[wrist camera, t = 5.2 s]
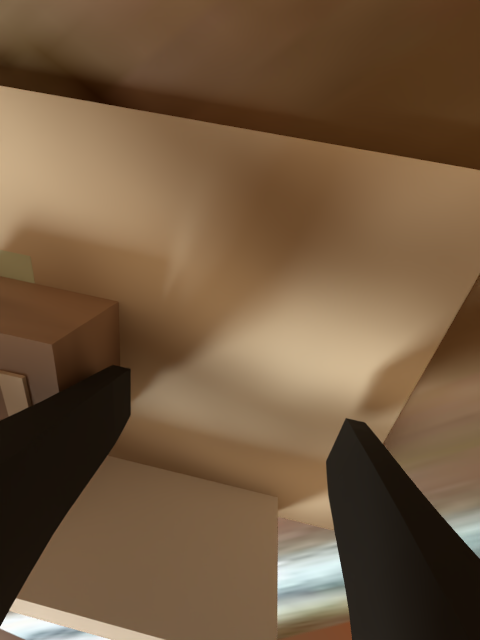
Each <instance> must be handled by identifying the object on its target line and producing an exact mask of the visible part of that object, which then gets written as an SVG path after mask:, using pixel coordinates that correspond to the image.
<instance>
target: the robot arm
mask: <svg viewBox="0 0 480 640" xmlns="http://www.w3.org/2000/svg"><path fill="white" fill-rule="evenodd" d="M130 416H131V369H129V368H125V367H120V366H116V365H112V366H109V367H107V368H105V369H103V370H101V371H99V372H97V373H95V374H94V375H92V376H90V377H88V378H86V379H84V380H82V381H80V382H78V383H76V384H74V385H72V386H70V387H69V388H67V389H65V390H63V391H61V392H59V393H57V394H55V395H53V396H51V397H49V398H47V399H45V400H43V401H41V402H39V403H37V404H35V405H32V406H30V407H28V408H26V409H24V410H22V411H20V412H17V413H15V414H13V415H11V416H9V417H7V418H5V419H2V420H0V626H1V624H2V622H3V620H4V619H5V617H6V615H7V613H8V612H9V610H10V608H11V606H12V604H13V603H14V601H15V599H16V597H17V596H18V594H19V592H20V590H21V589H22V587H23V585H24V583H25V582H26V580H27V578H28V576H29V575H30V573H31V571H32V570H33V568H34V566H35V564H36V563H37V561H38V559H39V558H40V556H41V554H42V553H43V551H44V549H45V548H46V546H47V544H48V542H49V541H50V539H51V537H52V536H53V534H54V532H55V531H56V529H57V528H58V526H59V525H60V523H61V522H62V520H63V519H64V517H65V516H66V514H67V513H68V511H69V510H70V508H71V507H72V506H73V504H74V503H75V501H76V500H77V498H78V497H79V496H80V494H81V493H82V491H83V490H84V488H85V487H86V486H87V484H88V483H89V481H90V480H91V478H92V477H93V476H94V474H95V473H96V471H97V470H98V468H99V467H100V466H101V464H102V463H103V461H104V460H105V458H106V457H107V455H108V454H109V453H110V451H111V450H112V448H113V447H114V445H115V444H116V442H117V440H118V438H119V436H120V435H121V433H122V431H123V429H124V427H125V425H126V423H127V421H128V420H129V418H130ZM326 472H327V486H328V497H329V503H330V508H331V514H332V519H333V525H334V530H335V536H336V541H337V546H338V551H339V557H340V562H341V567H342V573H343V578H344V583H345V589H346V595H347V602H348V608H349V615H350V624H351V633H352V640H480V559H479V558H478V556H477V555H476V554H475V553H474V552H473V551H472V550H471V549H470V548H469V547H468V546H467V544H466V543H465V542H464V541H463V540H462V539H461V538H460V537H459V535H458V534H457V533H456V532H455V531H454V530H453V529H452V527H451V526H450V525H449V524H448V523H447V522H446V521H445V519H444V518H443V517H442V516H441V515H440V514H439V513H438V511H437V510H436V509H435V508H434V507H433V506H432V504H431V503H430V502H429V501H428V500H427V498H426V497H425V496H424V495H423V494H422V492H421V491H420V490H419V489H418V488H417V486H416V485H415V484H414V483H413V481H412V480H411V479H410V478H409V476H408V475H407V474H406V473H405V471H404V470H403V469H402V468H401V466H400V465H399V464H398V463H397V461H396V460H395V459H394V458H393V456H392V455H391V454H390V453H389V451H388V450H387V449H386V447H385V446H384V445H383V444H382V442H381V441H380V440H379V439H378V437H377V436H376V435H375V434H374V432H373V431H372V430H371V429H370V427H369V426H368V425H367V424H366V423H365V422H361V421H357V420H353V419H348V418H346V419H345V421H344V423H343V425H342V427H341V430H340V432H339V434H338V436H337V438H336V440H335V443H334V445H333V447H332V449H331V451H330V453H329V456H328V458H327V460H326Z"/></svg>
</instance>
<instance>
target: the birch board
mask: <svg viewBox="0 0 480 640" xmlns="http://www.w3.org/2000/svg"><path fill="white" fill-rule="evenodd" d="M479 274H480V170H476V169H470V168H464V167H459V166H453V165H447V164H442V163H436V162H430V161H425V160H419V159H413V158H408V157H402V156H396V155H391V154H385V153H379V152H374V151H368V150H362V149H357V148H351V147H345V146H340V145H334V144H328V143H323V142H317V141H311V140H306V139H300V138H294V137H288V136H283V135H277V134H271V133H266V132H260V131H254V130H249V129H243V128H237V127H232V126H226V125H220V124H215V123H209V122H203V121H198V120H192V119H186V118H181V117H175V116H169V115H164V114H158V113H152V112H147V111H141V110H135V109H130V108H124V107H118V106H113V105H107V104H101V103H96V102H90V101H84V100H78V99H73V98H67V97H61V96H56V95H50V94H44V93H39V92H33V91H27V90H22V89H16V88H10V87H5V86H0V276H2V277H6V278H11V279H16V280H20V281H25V282H30V283H34V284H39V285H44V286H48V287H53V288H58V289H62V290H67V291H72V292H76V293H81V294H86V295H90V296H95V297H100V298H104V299H109V300H114V301H118V302H119V335H120V367H125V368H129V369H131V416H130V418H129V420H128V421H127V423H126V425H125V427H124V429H123V431H122V433H121V435H120V436H119V438H118V440H117V442H116V444H115V445H114V447H113V448H112V450H111V451H110V453H109V454H108V455H107V456H111V457H115V458H119V459H123V460H128V461H132V462H136V463H140V464H144V465H148V466H152V467H156V468H160V469H164V470H168V471H172V472H176V473H181V474H185V475H189V476H193V477H197V478H201V479H205V480H209V481H213V482H217V483H221V484H225V485H230V486H234V487H238V488H242V489H246V490H250V491H254V492H258V493H262V494H266V495H270V496H274V497H278V517H281V518H285V519H289V520H293V521H297V522H301V523H305V524H310V525H314V526H318V527H322V528H326V529H330V530H334V525H333V519H332V514H331V508H330V503H329V497H328V486H327V472H326V460H327V458H328V456H329V453H330V451H331V449H332V447H333V445H334V443H335V440H336V438H337V436H338V434H339V432H340V430H341V427H342V425H343V423H344V421H345V419H346V418H348V419H353V420H357V421H361V422H365V423H366V424H367V425H368V426H369V427H370V429H371V430H372V431H373V432H374V434H375V435H376V436H377V437H378V439H379V440H380V441H381V442H382V444H383V442H384V441H385V439H386V437H387V435H388V433H389V432H390V430H391V428H392V426H393V425H394V423H395V421H396V419H397V418H398V416H399V414H400V412H401V411H402V409H403V407H404V405H405V404H406V402H407V400H408V398H409V397H410V395H411V393H412V391H413V390H414V388H415V386H416V384H417V383H418V381H419V379H420V377H421V376H422V374H423V372H424V370H425V369H426V367H427V365H428V363H429V362H430V360H431V358H432V356H433V355H434V353H435V351H436V349H437V348H438V346H439V344H440V342H441V341H442V339H443V337H444V335H445V334H446V332H447V330H448V328H449V327H450V325H451V323H452V321H453V320H454V318H455V316H456V314H457V313H458V311H459V309H460V307H461V306H462V304H463V302H464V300H465V299H466V297H467V295H468V293H469V292H470V290H471V288H472V286H473V285H474V283H475V281H476V279H477V278H478V276H479Z"/></svg>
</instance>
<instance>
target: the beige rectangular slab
mask: <svg viewBox="0 0 480 640" xmlns="http://www.w3.org/2000/svg"><path fill="white" fill-rule="evenodd" d="M277 561H278V497H274V496H270V495H266V494H262V493H258V492H254V491H250V490H246V489H242V488H238V487H234V486H230V485H225V484H221V483H217V482H213V481H209V480H205V479H201V478H197V477H193V476H189V475H185V474H181V473H176V472H172V471H168V470H164V469H160V468H156V467H152V466H148V465H144V464H140V463H136V462H132V461H128V460H123V459H119V458H115V457H111V456H107V457H106V458H105V460H104V461H103V463H102V464H101V466H100V467H99V468H98V470H97V471H96V473H95V474H94V476H93V477H92V478H91V480H90V481H89V483H88V484H87V486H86V487H85V488H84V490H83V491H82V493H81V494H80V496H79V497H78V498H77V500H76V501H75V503H74V504H73V506H72V507H71V508H70V510H69V511H68V513H67V514H66V516H65V517H64V519H63V520H62V522H61V523H60V525H59V526H58V528H57V529H56V531H55V532H54V534H53V536H52V537H51V539H50V541H49V542H48V544H47V546H46V548H45V549H44V551H43V553H42V554H41V556H40V558H39V559H38V561H37V563H36V564H35V566H34V568H33V570H32V571H31V573H30V575H29V576H28V578H27V580H26V582H25V583H24V585H23V587H22V589H21V590H20V592H19V594H18V596H17V597H16V599H15V601H14V603H13V604H12V606H11V608H10V610H9V611H12V612H15V613H19V614H22V615H26V616H29V617H33V618H37V619H40V620H44V621H47V622H51V623H54V624H58V625H61V626H65V627H69V628H72V629H76V630H79V631H83V632H86V633H90V634H94V635H97V636H101V637H104V638H108V639H111V640H277Z"/></svg>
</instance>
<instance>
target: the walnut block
mask: <svg viewBox="0 0 480 640" xmlns="http://www.w3.org/2000/svg"><path fill="white" fill-rule="evenodd" d="M112 365H116V366H120V335H119V302H118V301H114V300H109V299H104V298H100V297H95V296H90V295H86V294H81V293H76V292H72V291H67V290H62V289H58V288H53V287H48V286H44V285H39V284H34V283H30V282H25V281H20V280H16V279H11V278H6V277H2V276H0V420H2V419H5V418H7V417H9V416H11V415H13V414H15V413H17V412H20V411H22V410H24V409H26V408H28V407H30V406H32V405H35V404H37V403H39V402H41V401H43V400H45V399H47V398H49V397H51V396H53V395H55V394H57V393H59V392H61V391H63V390H65V389H67V388H69V387H70V386H72V385H74V384H76V383H78V382H80V381H82V380H84V379H86V378H88V377H90V376H92V375H94V374H95V373H97V372H99V371H101V370H103V369H105V368H107V367H109V366H112Z"/></svg>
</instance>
